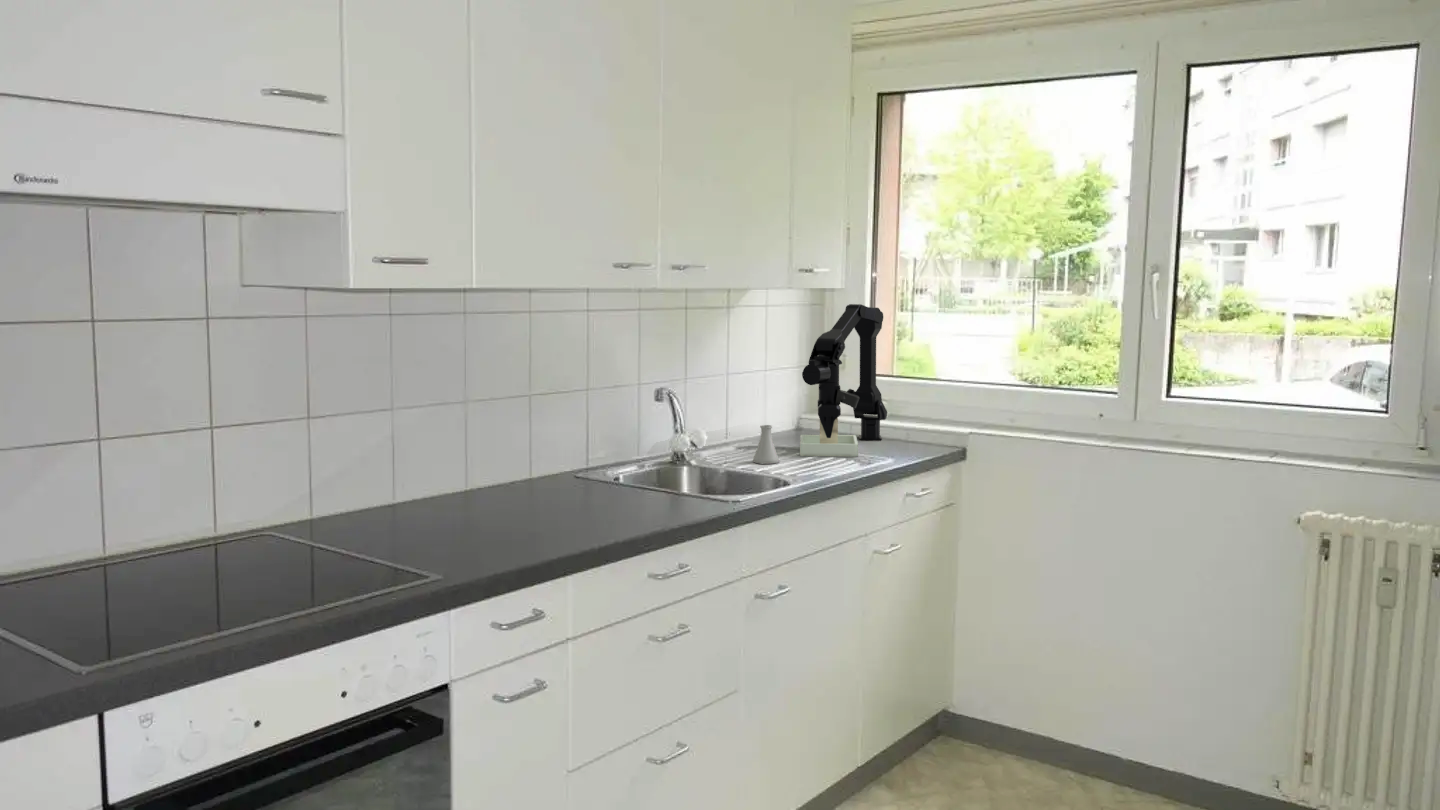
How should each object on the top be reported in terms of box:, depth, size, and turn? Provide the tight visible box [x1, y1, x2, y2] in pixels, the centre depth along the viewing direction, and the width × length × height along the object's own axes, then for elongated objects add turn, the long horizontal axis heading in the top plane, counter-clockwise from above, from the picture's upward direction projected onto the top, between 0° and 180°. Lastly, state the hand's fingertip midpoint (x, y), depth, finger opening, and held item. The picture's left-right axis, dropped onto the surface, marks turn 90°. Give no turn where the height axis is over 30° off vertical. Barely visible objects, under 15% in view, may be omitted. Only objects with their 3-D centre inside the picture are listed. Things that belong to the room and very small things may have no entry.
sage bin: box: [799, 434, 859, 458], centre depth 319 cm, size 16×16×4 cm
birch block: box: [819, 417, 839, 444], centre depth 318 cm, size 5×5×7 cm
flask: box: [752, 424, 781, 465], centre depth 303 cm, size 7×7×10 cm
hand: (828, 436), depth 318 cm, fingers closed on birch block, 5 cm apart
